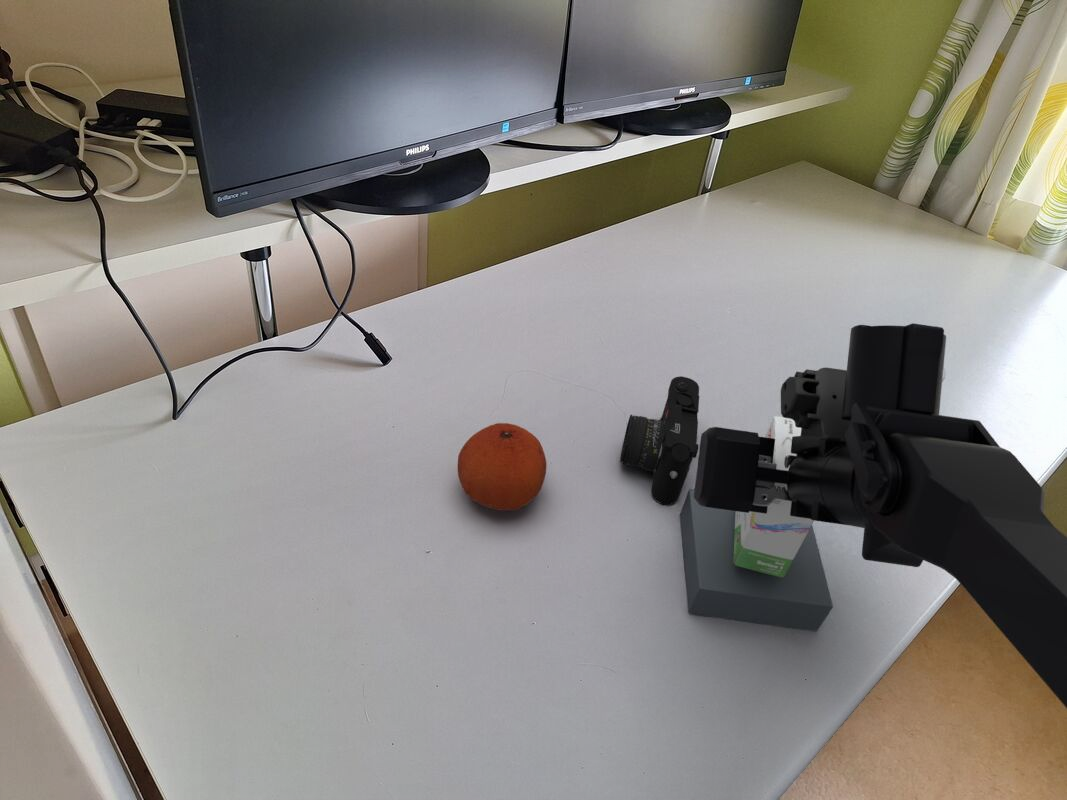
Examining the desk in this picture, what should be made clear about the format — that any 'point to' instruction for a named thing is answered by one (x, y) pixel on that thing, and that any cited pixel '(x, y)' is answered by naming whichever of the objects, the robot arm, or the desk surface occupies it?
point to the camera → (666, 441)
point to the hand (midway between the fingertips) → (781, 479)
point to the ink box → (771, 518)
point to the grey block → (748, 576)
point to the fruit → (502, 467)
